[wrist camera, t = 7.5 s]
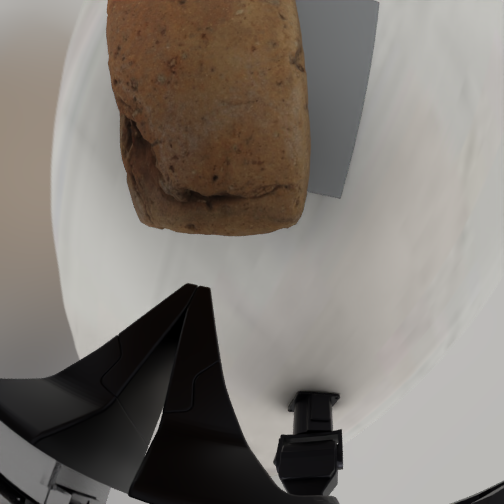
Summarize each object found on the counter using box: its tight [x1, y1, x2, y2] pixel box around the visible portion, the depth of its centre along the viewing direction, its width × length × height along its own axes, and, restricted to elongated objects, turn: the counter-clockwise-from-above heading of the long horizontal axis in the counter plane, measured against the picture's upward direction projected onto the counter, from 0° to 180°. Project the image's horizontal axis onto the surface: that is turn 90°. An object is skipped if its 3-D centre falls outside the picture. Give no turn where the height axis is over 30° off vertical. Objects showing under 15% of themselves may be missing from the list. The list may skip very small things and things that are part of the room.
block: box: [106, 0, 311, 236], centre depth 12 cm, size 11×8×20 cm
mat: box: [296, 0, 379, 199], centre depth 16 cm, size 16×14×1 cm
